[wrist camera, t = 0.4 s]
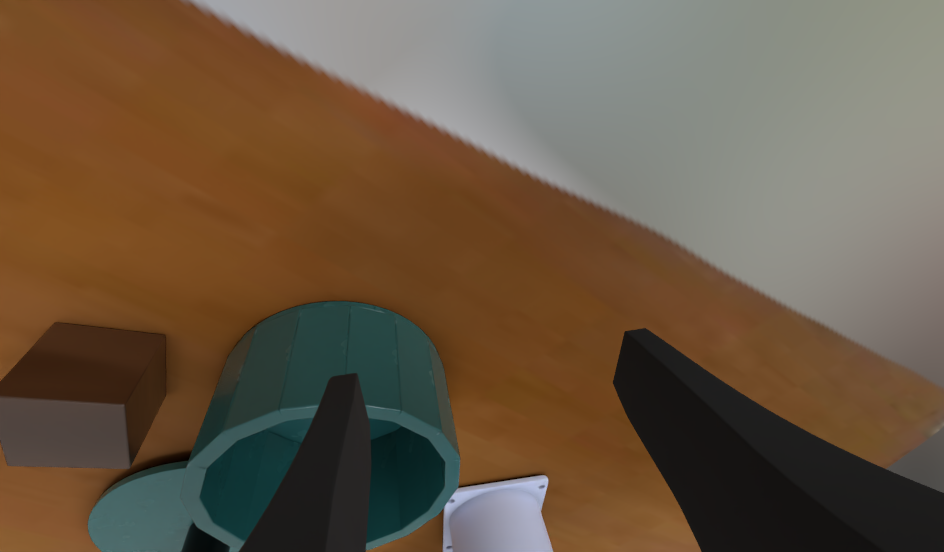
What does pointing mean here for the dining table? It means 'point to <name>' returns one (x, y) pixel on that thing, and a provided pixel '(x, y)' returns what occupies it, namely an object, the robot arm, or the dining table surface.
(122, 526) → the lid
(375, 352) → the tin
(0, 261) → the dining table surface
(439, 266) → the dining table surface
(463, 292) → the dining table surface
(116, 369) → the block
